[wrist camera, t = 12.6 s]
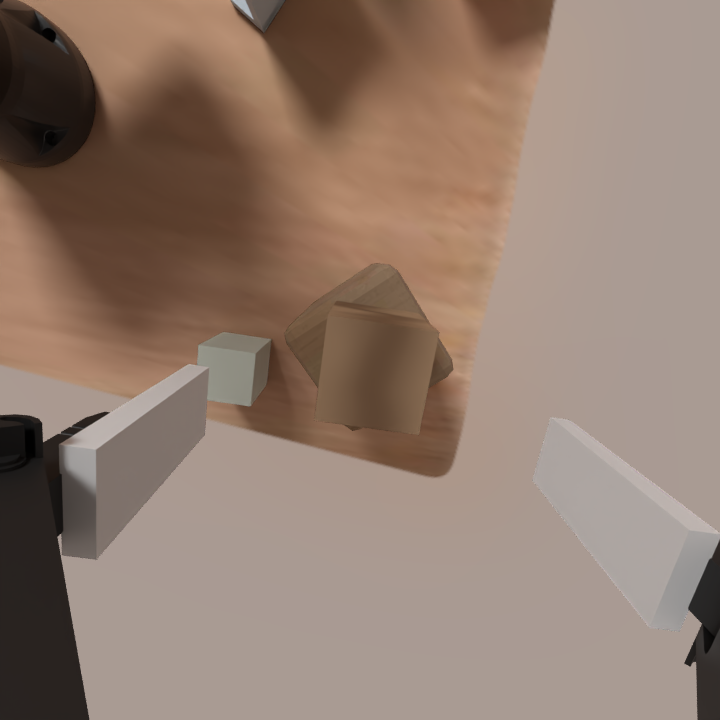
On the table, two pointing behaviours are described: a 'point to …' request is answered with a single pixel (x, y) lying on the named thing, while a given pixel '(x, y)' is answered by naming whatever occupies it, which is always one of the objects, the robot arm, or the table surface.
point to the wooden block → (365, 288)
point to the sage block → (235, 367)
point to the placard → (259, 11)
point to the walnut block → (375, 368)
